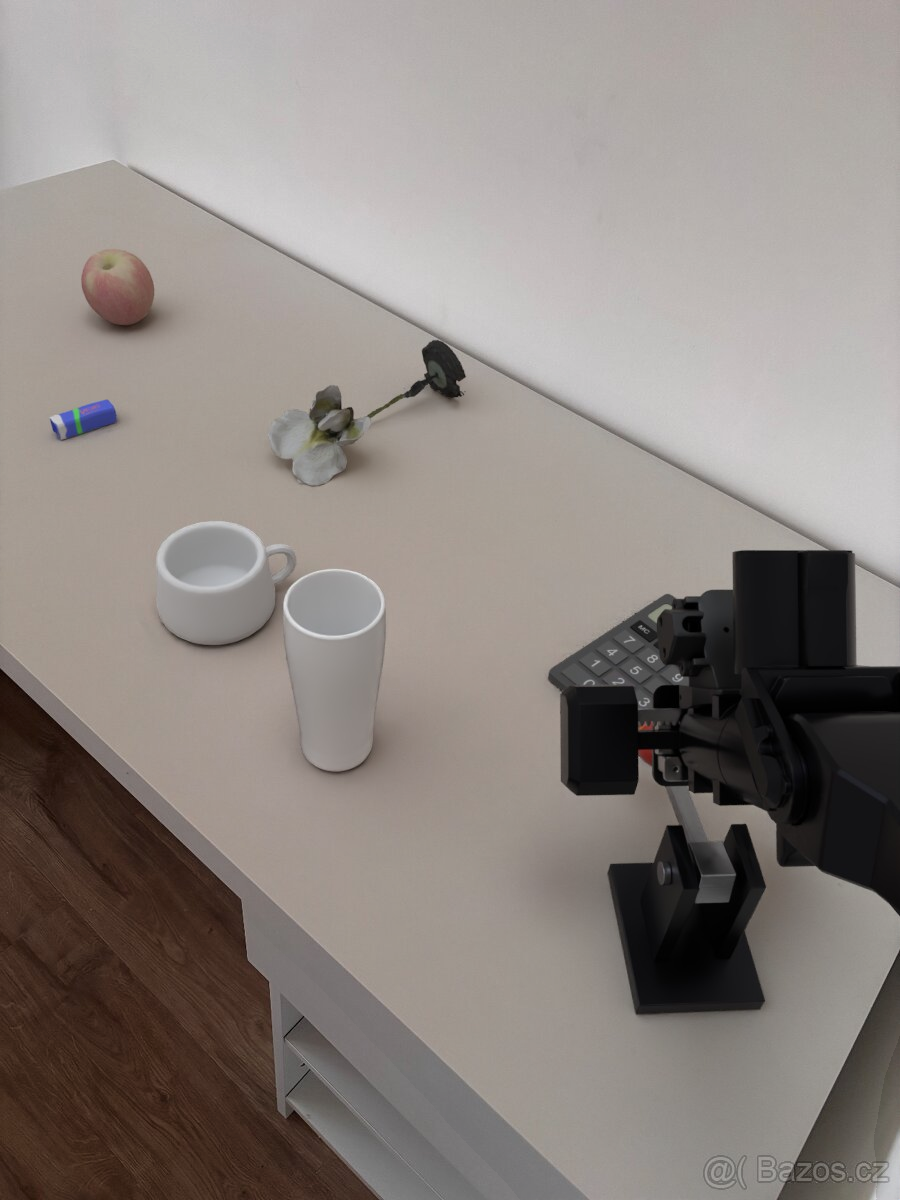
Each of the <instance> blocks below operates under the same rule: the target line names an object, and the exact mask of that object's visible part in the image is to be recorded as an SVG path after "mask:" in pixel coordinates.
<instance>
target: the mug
mask: <svg viewBox="0 0 900 1200" xmlns="http://www.w3.org/2000/svg"><path fill="white" fill-rule="evenodd" d="M279 554H282V555H284V556H286V563H285V565H284V567H283V568H282V569H281V570H280V571H279V572H277V573H275V574H272V571H271V566H270V562H269V557H271V556H273V555H279ZM296 566H297V555H296V551H295V550H294V548H292V547H291V546H289V545H287V544H284V543H275V544H274V543H273V544H271V545H267V546H265V544H264V542H263V540H262V539H261V538H260V537H259V536H258V534H257V533H256V532H254V531H252V530H251V529H249V528H248V527H247V526H244V525H241V524H239V523H236V522H230V521H224V520H208V521H207V520H206V521H201V522H196V523H192V524H189V525H187V526H184V527H181V528H180V529H178V530H176V531H174V532H173V533H170V534H169V535H168V537H166V538H165V540H163V541H162V543H161V545H160V546H159V549H158V551H157V553H156V559H155V581H156V582H155V599H156V601H155V602H156V608H157V612H158V615H159V619H160V621H161V623H162V624H163V625H164V627H165V628H166V629H167V631H170V632H171V633H172V634H173V635H175V636H177V637H179V639H183V640H185V641H187V642H190V643H192V644H197V645H204V646H221V645H222V646H223V645H226V644H227V645H228V644H233V643H236V642H239V641H241V640H243V639H246V638H248V637H250V636H251V635H253V634H254V633H256V632H257V631H259V630H260V629H261V628H263V626H264V625H265V624H266V623H267V622H268V620H270V618H271V617H272V615H273V612H274V609H275V607H276V589H275V588H276V587H275V585H278V584H279V583H281V582H283V581H285V580H286V579H287V578H289V577H290V576H291V574H292V573H293V572H294V570H295V569H296Z"/></svg>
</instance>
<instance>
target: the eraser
mask: <svg viewBox="0 0 900 1200" xmlns="http://www.w3.org/2000/svg"><path fill="white" fill-rule="evenodd" d="M49 421H50V426H51V429H52V432H54V433H55V434H57V437H58V440H60V441H62V440H63V441H64V440H66V439H69V438H73V437H76V436H79V435H82V434H84V433H85V434H86V433H88V432H90V431H93V430H96V429H99V428H103V427H105V426H106V427H107V426H108V425H112V424H116V423H117V422H118V421H117V413H116V409H115V406H114V404H112V402H111V401H110V400H109V399H103V400H99V401H95V402H91V403H87V404H85V405H82V406H79V407H77V408H73V409H70V410H68V411H65V412H61V413H58V414H54V415H51V416H49Z"/></svg>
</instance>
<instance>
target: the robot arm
mask: <svg viewBox="0 0 900 1200" xmlns="http://www.w3.org/2000/svg"><path fill="white" fill-rule="evenodd" d="M731 553H732V556H731V557H732V589H709V590H706V591H704V592H702V594H700V595H697V596H696V595H693V596H691V595H686V596H685V597H683V598H676V599H673V602H672V609H665V610H663V612H662V613H661V614H660V615H659V617H658V618H657V625H656V628H657V637H658V645H659V654H660V660H661V661H662V663H663V664H664V665H676V666H677V667H678V668H679V671H680V675H681V677H689V685H661V686H659V687H658V688H657V689H656V690H655V691H654V694H653V697H652V708H639V709H638V701H637V698H636V694H635V690H634V686H631V685H613V684H609V685H569V686H568V687H567V688H566V689H565V690H564V691H562V692H561V693H560V694H559V718H560V721H559V723H560V725H559V726H560V727H559V728H560V729H559V731H560V735H559V736H560V739H559V740H560V746H559V747H560V783H562V784H563V785H564V786H565V787H566V788H567V789H568V791H570V792H571V793H572V794H574V795H575V796H576V797H581V796H582V797H583V796H589V797H591V796H632V795H633V796H634V795H635V794H636V792H637V791H636V790H637V788H638V784H639V782H640V781H639V780H640V778H639V777H640V776H639V754H638V750H652V766H651V775H652V778H653V780H654V781H655V783H656V784H657V785H659V786H661V787H665V786H687V788H688V791H689V792H690V793H693V794H712V803H713V804H715V805H717V806H719V807H723V806H724V807H727V806H730V807H732V806H754V807H756V808H759V809H760V810H762V811H765V812H767V815H768V816H769V818H770V819H771V820H772V822H774V823H775V832H776V833H775V836H776V837H775V840H776V842H775V843H776V846H775V847H776V848H775V850H776V862H777V864H778V865H779V867H781V868H799V867H801V868H803V867H804V868H805V867H816V869H818V870H819V871H820V872H822V873H823V874H826V875H828V876H831V877H833V878H837V879H839V880H842V881H844V882H847V883H849V884H852V885H855V886H857V887H861V888H863V889H865V890H868V891H871V892H873V893H875V894H877V896H879V897H880V898H881V899H882V900H884V901H885V902H886V903H887V904H889V906H890V907H891V908H892V910H894V911H895V913H896V914H897V915H898V916H899V917H900V665H894V666H893V665H886V666H885V665H882V666H881V665H880V666H879V665H876V666H874V665H873V666H871V665H860V664H857V600H856V599H857V598H856V596H857V595H856V594H857V593H856V590H857V589H856V587H857V585H856V553H855V552H853V550H845V549H838V550H837V549H804V550H802V549H797V550H796V549H794V550H793V549H741V550H735V551H732V552H731ZM644 721H645V724H646V726H650V723H651V722H652V730H638V723H639V726H643V724H644Z"/></svg>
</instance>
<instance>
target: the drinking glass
mask: <svg viewBox="0 0 900 1200" xmlns="http://www.w3.org/2000/svg"><path fill="white" fill-rule="evenodd" d="M282 605H283V606H282V609H283V611H282V612H283V614H282V625H283V626H282V627H283V630H282V631H283V643H284V644H283V645H284V652H285V653H284V654H285V658H286V665H287V669H288V675H289V680H290V686H291V691H292V696H293V702H294V707H295V713H296V717H297V723H298V729H299V741H300V748H301V751H302V754H303V755H304V757H305V758H306V760H307V761H308V762H309V763H310V764H312V765H313V766H314V767H315V768H318V769H321V770H323V771H327V772H345V771H348V770H351V769H354V768H356V767H358V766H359V765H360V764H362V763H363V762H364V761H365V760H366V759H367V757H369V755H370V752H371V750H372V747H373V744H374V726H375V717H376V711H377V705H378V697H379V691H380V685H381V678H382V672H383V666H384V659H385V653H386V639H387V613H386V609H387V608H386V598H385V595H384V593H383V591H382V589H381V588H380V586H379V585H378V584H377V583H376V582H375V581H374V580H372V579H371V578H370V577H369V576H367V575H364V574H363V573H360V572H357V571H355V570H351V569H350V570H349V569H345V568H325V569H320V570H316V571H313V572H310V573H308V574H305V575H303V576H302V577H300V578H298V579H297V580H296V581H294V582H293V583H292V584H291V585H290V586H289V588H288V589H287V591H286V592H285V595H284V598H283V604H282Z"/></svg>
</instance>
